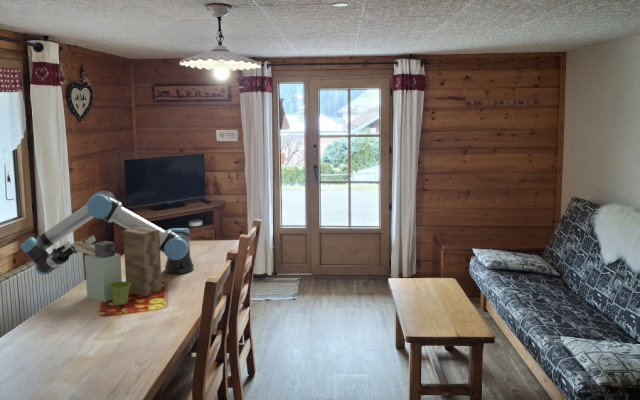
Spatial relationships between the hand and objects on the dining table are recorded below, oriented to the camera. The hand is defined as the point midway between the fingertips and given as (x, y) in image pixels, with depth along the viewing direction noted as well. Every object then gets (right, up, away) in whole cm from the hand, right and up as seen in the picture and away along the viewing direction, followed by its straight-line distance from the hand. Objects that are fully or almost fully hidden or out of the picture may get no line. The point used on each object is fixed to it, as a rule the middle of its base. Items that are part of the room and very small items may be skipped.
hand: (82, 240), depth 262 cm
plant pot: (+22, -27, -10) cm, 37 cm away
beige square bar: (+6, -6, -3) cm, 9 cm away
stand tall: (+27, -25, +6) cm, 37 cm away
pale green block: (+11, -26, -2) cm, 28 cm away
